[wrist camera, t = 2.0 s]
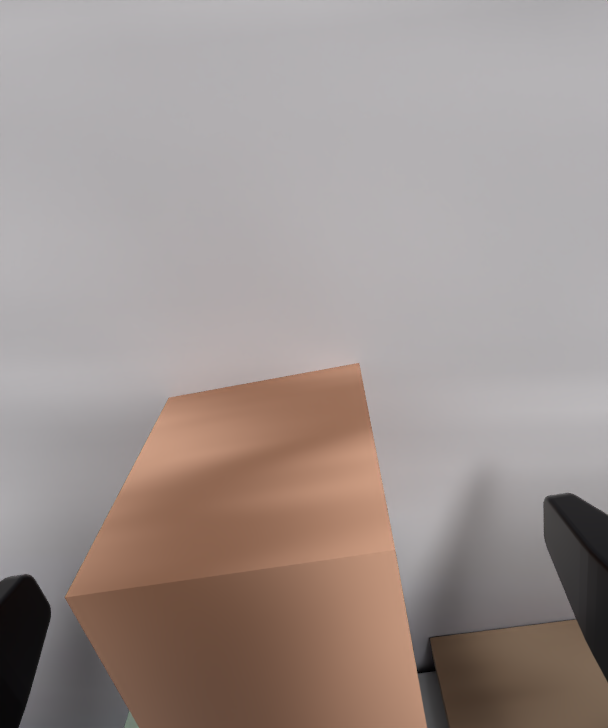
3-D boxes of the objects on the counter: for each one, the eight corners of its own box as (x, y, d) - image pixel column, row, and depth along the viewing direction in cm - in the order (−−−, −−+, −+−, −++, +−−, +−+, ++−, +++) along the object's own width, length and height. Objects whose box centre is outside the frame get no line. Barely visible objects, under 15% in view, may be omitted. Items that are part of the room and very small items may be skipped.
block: (358, 362, 10) (394, 550, 6) (386, 514, 12) (431, 753, 7) (169, 397, 11) (64, 597, 6) (221, 539, 12) (168, 779, 8)
